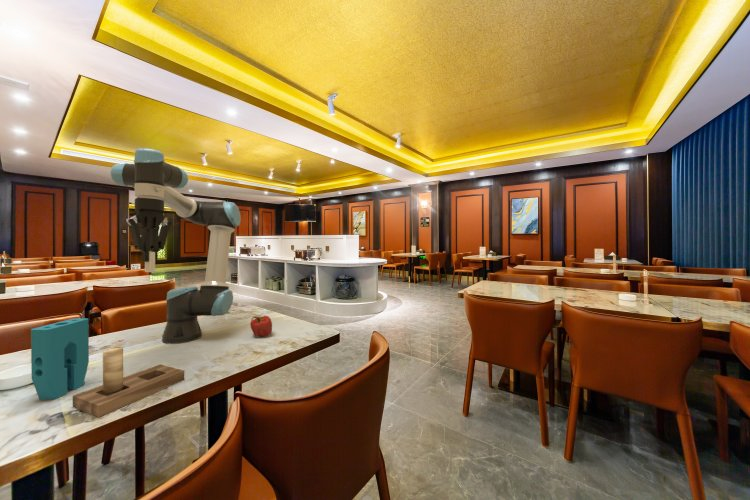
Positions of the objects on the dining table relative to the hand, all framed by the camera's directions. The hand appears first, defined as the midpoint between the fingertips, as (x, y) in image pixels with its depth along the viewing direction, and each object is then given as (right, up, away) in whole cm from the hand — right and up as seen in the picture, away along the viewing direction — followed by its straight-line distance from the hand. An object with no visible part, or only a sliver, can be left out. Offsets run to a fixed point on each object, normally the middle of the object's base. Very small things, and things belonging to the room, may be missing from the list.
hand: (149, 271), depth 94 cm
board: (+2, -35, -9) cm, 36 cm away
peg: (0, -35, -14) cm, 37 cm away
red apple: (+19, -34, +44) cm, 58 cm away
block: (-19, -35, -9) cm, 40 cm away
